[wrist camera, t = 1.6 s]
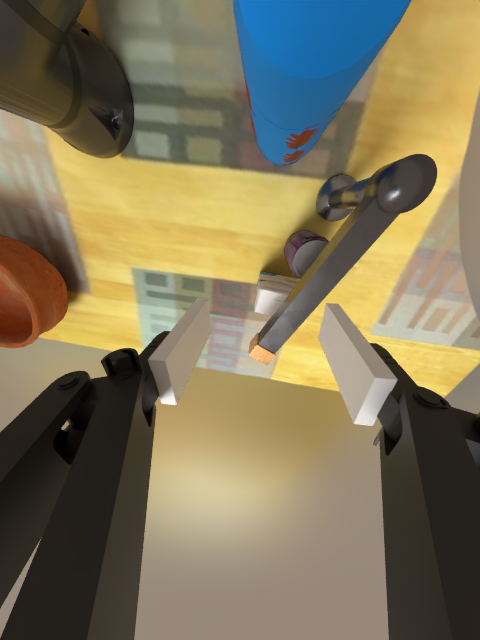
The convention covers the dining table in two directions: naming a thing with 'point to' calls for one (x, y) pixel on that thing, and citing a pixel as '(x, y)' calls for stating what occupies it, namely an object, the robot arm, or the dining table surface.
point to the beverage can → (303, 251)
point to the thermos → (306, 64)
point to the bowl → (28, 294)
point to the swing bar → (348, 246)
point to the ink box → (272, 292)
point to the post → (339, 197)
